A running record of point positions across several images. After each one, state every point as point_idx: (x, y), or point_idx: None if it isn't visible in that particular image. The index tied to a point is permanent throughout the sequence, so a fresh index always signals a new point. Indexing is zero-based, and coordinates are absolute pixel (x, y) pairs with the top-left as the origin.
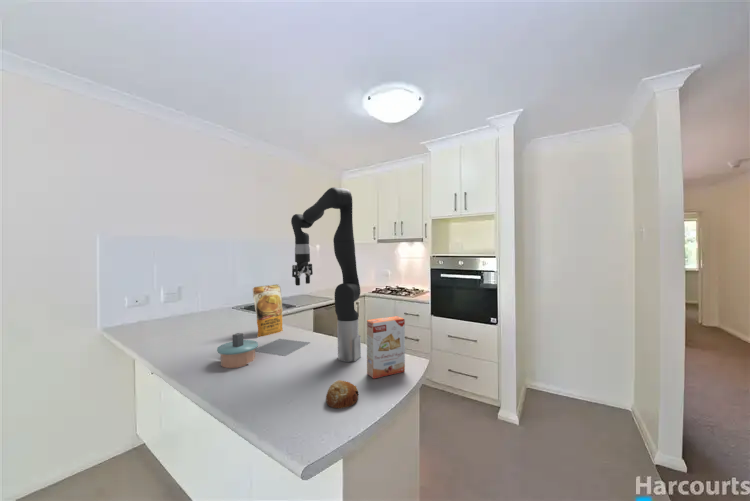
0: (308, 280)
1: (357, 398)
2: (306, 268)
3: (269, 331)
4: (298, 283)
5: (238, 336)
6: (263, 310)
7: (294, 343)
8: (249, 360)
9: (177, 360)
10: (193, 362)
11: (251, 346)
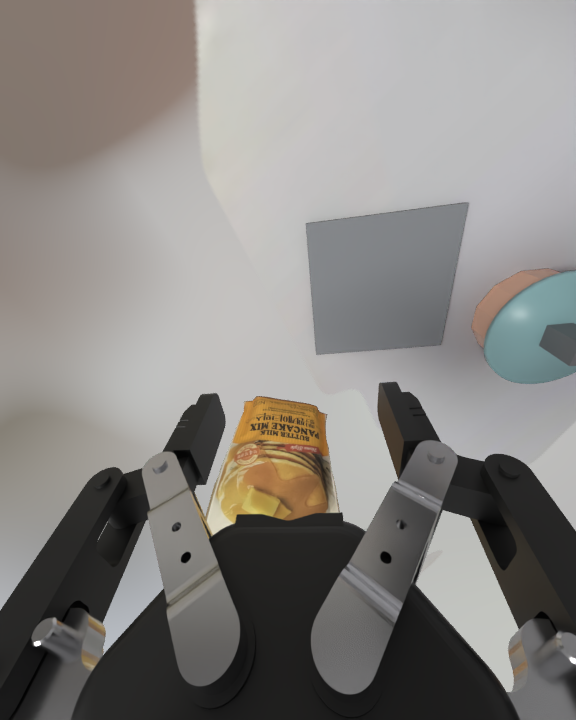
0: (208, 418)
1: None
2: (230, 595)
3: (297, 409)
4: (401, 398)
5: None
6: (309, 474)
7: (338, 275)
8: (544, 272)
9: (518, 437)
10: (529, 402)
11: (565, 287)
